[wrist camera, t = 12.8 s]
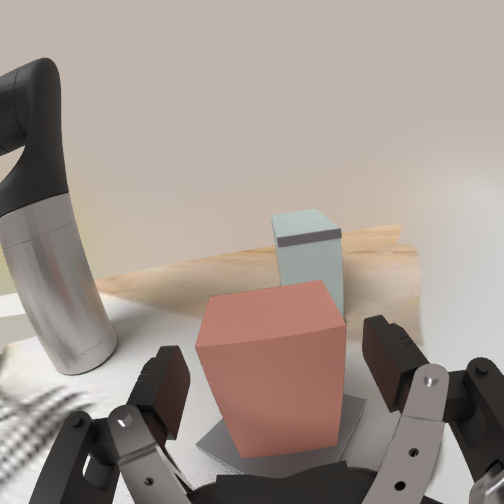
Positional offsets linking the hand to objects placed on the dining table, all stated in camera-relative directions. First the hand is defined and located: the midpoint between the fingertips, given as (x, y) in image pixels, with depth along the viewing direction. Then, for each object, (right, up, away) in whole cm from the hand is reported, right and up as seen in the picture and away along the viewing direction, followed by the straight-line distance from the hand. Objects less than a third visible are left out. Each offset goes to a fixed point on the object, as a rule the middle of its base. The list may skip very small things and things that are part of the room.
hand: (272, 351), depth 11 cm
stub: (+1, -7, +3) cm, 7 cm away
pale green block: (+5, -1, +19) cm, 20 cm away
